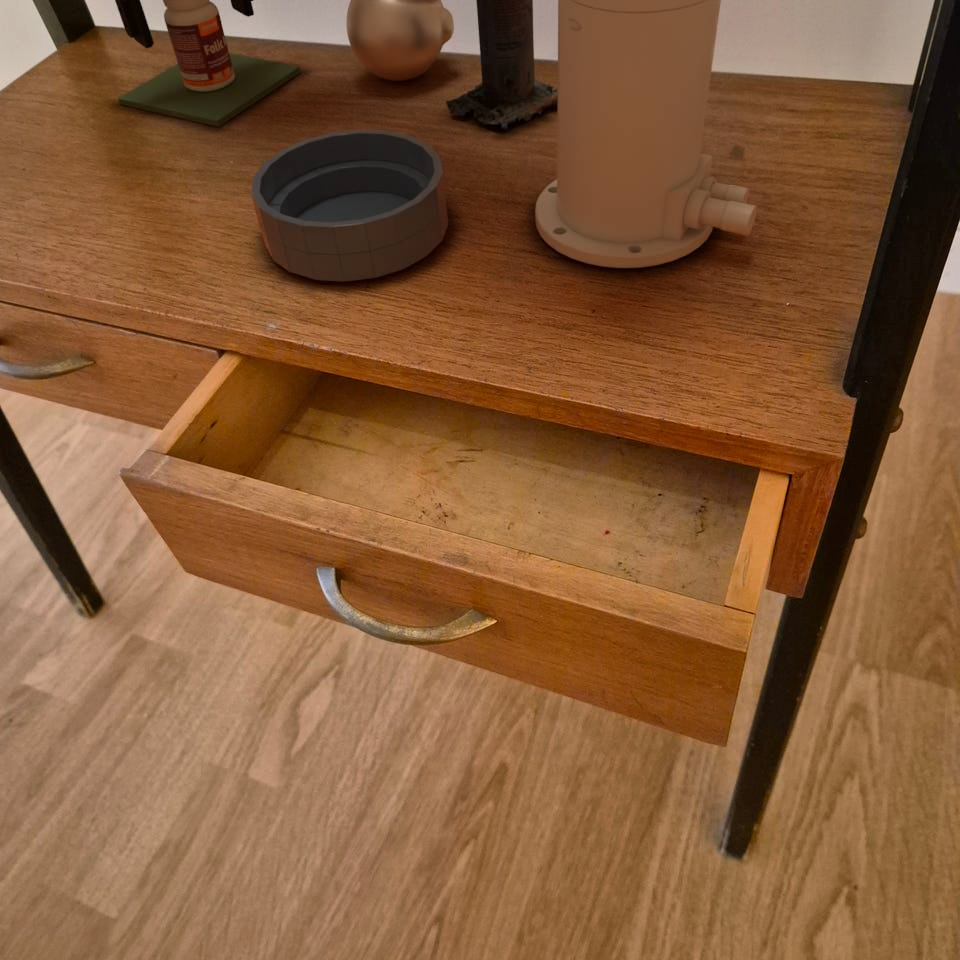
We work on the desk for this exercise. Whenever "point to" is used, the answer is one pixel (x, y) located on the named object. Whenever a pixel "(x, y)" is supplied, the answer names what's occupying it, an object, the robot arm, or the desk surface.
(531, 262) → the desk surface
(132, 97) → the mat
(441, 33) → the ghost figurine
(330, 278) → the bowl
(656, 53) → the robot arm
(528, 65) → the post on square base
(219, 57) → the pill bottle
